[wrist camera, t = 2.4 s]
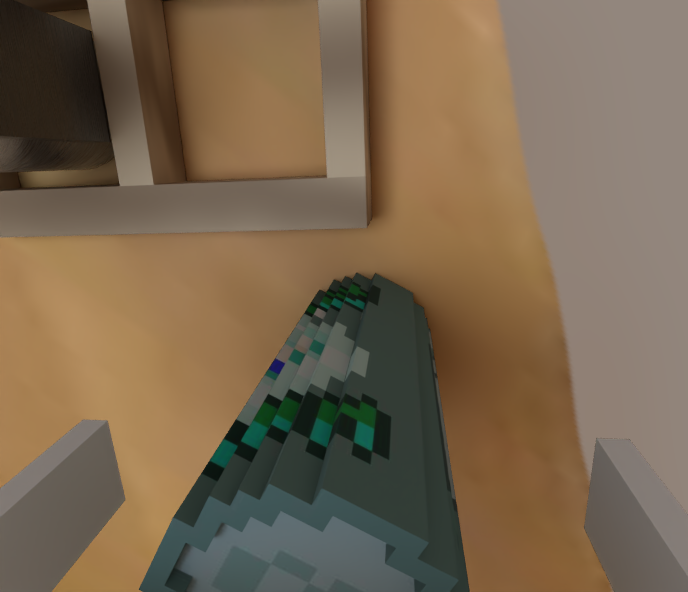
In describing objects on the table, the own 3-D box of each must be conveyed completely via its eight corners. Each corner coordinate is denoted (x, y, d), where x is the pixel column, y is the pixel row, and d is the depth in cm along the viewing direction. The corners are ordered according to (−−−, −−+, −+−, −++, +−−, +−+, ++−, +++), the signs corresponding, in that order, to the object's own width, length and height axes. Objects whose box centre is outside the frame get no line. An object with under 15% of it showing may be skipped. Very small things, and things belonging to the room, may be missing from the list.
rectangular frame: (371, 218, 21) (367, 228, 18) (3, 228, 24) (-51, 238, 21) (364, -78, 18) (356, -123, 15) (-62, -30, 20) (-137, -60, 18)
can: (337, 253, 22) (213, 432, 8) (450, 312, 22) (535, 596, 8) (285, 355, 24) (108, 652, 10) (389, 409, 24) (368, 781, 10)
